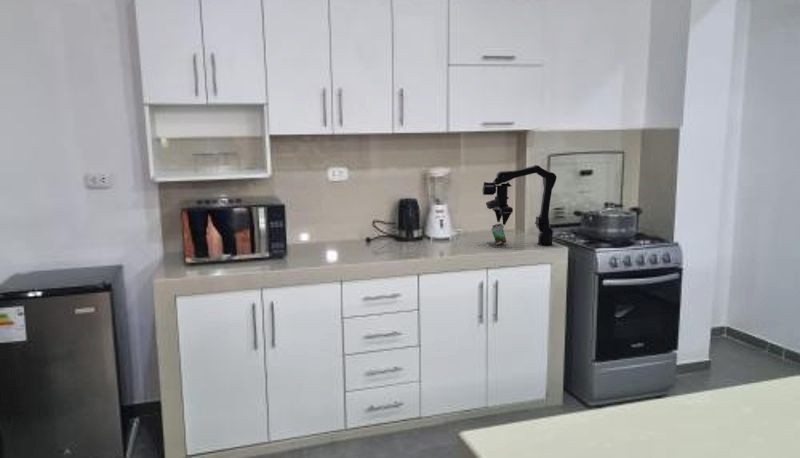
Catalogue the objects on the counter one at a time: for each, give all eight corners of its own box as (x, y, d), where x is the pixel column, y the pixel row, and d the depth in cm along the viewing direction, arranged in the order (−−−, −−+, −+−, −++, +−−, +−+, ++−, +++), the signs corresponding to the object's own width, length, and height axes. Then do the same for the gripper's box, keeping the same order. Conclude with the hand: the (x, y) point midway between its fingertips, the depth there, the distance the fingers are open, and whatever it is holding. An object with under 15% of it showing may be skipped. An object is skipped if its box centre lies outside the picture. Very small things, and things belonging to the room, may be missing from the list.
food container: (508, 243, 314) (502, 225, 313) (497, 246, 316) (491, 229, 315) (508, 238, 326) (503, 221, 325) (498, 242, 328) (492, 225, 327)
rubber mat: (498, 242, 328) (498, 242, 328) (505, 247, 316) (505, 246, 316) (487, 243, 327) (487, 242, 327) (494, 247, 315) (494, 246, 315)
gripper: (482, 193, 325) (481, 221, 328) (493, 197, 307) (492, 226, 309) (501, 192, 327) (500, 220, 329) (513, 196, 309) (512, 226, 311)
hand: (501, 223), depth 320 cm, fingers open, 9 cm apart
